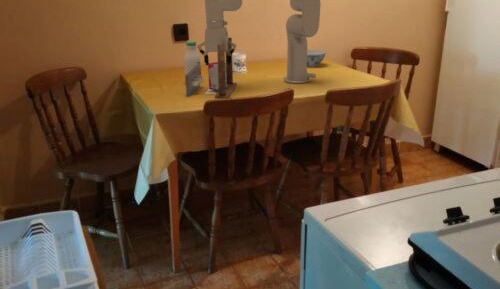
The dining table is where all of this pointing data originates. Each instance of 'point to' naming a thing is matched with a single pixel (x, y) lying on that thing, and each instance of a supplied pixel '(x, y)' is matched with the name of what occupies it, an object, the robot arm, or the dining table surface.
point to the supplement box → (214, 76)
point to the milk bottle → (191, 58)
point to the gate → (222, 79)
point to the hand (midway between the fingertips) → (218, 64)
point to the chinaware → (314, 57)
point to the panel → (192, 80)
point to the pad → (210, 91)
